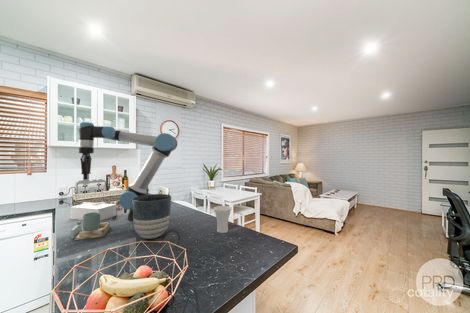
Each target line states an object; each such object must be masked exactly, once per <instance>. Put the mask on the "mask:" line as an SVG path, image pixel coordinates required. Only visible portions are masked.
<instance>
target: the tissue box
mask: <svg viewBox="0 0 470 313" xmlns="http://www.w3.org/2000/svg"><path fill="white" fill-rule="evenodd" d="M92 212H99V213H100V222H102V221H105V220H107V219H110V218H113V217H115V216H117V204H115V203H105V201H100V202H88V201H83V202H82V203H81V204H79V205H78V204H77V205H72V206H70V216H69V217H70V220H78V221H79V220H80V221H83V215H84V214H87V213H92Z"/></svg>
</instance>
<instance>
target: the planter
mask: <svg viewBox="0 0 470 313" xmlns="http://www.w3.org/2000/svg"><path fill="white" fill-rule="evenodd" d="M132 205H133V221H132V222H133V227H134V230H135V232H136V233H137V235H138V236H139V237H141V238H142V239H147V240H149V239H150V240H152V239H156V238H159V237H160V236H162V235H163V234H164V233H165V232H166V231H167V229H168V228H169V226H170V222H171V208H172V195H170V194H168V193H166V194H164V193H154V194H153V193H151V194H148V195H143V196H138V197H135V198H133V199H132Z"/></svg>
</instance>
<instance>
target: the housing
mask: <svg viewBox="0 0 470 313" xmlns="http://www.w3.org/2000/svg"><path fill="white" fill-rule="evenodd" d="M110 225H111V224H110V221H107V222H100V226H99V229H98V230H94V231H86V232H85V231H84V229H83V228H82V229H81V232H79V233H78V234H77V235H76V236H75V237H74V241H77V240H85V239H93V238H100V237H101V238H102V237H105V236H106V234H107V232H108V231H109V229H110V228H111V227H110Z"/></svg>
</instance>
